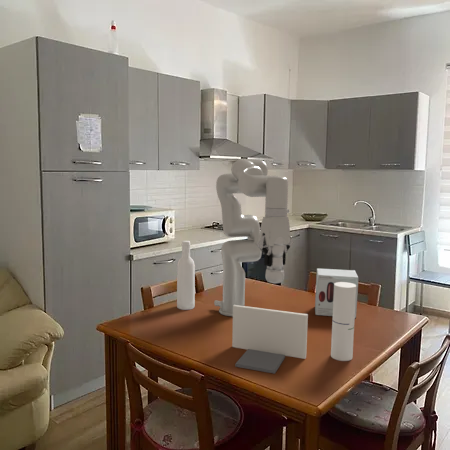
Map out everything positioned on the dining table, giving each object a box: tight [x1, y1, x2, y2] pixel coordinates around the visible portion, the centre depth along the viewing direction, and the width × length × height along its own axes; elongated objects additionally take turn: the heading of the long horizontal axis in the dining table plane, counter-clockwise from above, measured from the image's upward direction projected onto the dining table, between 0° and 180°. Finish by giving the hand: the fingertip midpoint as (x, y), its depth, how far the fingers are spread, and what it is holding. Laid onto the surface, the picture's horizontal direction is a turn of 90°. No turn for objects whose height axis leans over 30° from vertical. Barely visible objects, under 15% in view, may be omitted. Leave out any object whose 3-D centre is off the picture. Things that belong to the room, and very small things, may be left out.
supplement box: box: [314, 267, 359, 319], centre depth 207 cm, size 17×13×18 cm
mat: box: [234, 349, 286, 374], centre depth 155 cm, size 13×13×1 cm
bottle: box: [176, 240, 196, 311], centre depth 210 cm, size 8×8×30 cm
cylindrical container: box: [330, 282, 356, 362], centre depth 158 cm, size 7×7×25 cm
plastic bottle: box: [264, 237, 285, 284], centre depth 163 cm, size 6×7×20 cm
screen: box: [231, 305, 309, 360], centre depth 162 cm, size 26×2×15 cm, turn 69°
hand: (274, 264), depth 164 cm, fingers closed on plastic bottle, 5 cm apart
